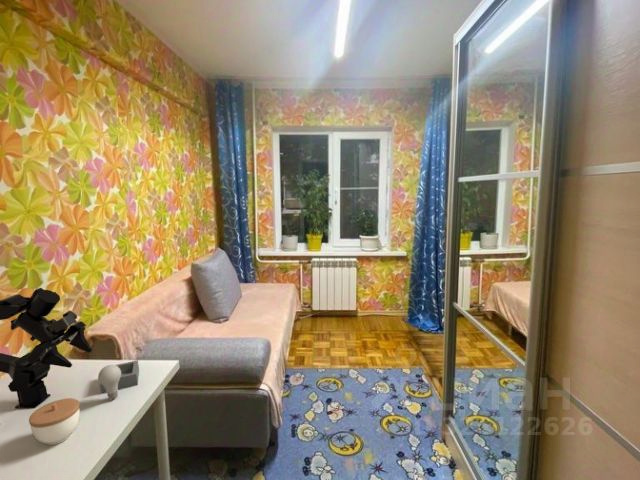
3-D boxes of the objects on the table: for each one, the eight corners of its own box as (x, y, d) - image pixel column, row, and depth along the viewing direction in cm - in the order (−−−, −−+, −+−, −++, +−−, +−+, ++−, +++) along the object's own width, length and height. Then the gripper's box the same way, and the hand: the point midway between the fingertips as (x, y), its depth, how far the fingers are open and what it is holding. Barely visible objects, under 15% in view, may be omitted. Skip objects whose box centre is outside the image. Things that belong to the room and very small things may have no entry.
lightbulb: (114, 405, 108) (109, 371, 106) (97, 404, 109) (91, 370, 108) (129, 393, 114) (124, 361, 112) (112, 392, 115) (107, 360, 114)
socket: (101, 393, 115) (99, 382, 114) (105, 378, 124) (104, 367, 124) (137, 385, 119) (136, 373, 118) (139, 370, 128) (137, 360, 128)
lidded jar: (40, 430, 98) (34, 399, 97) (86, 418, 103) (81, 388, 101) (28, 457, 89) (21, 422, 87) (79, 442, 93) (73, 409, 91)
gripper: (28, 319, 98) (76, 354, 99) (74, 297, 116) (114, 327, 118) (6, 348, 99) (53, 382, 101) (55, 322, 117) (94, 351, 119)
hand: (81, 358), depth 110 cm, fingers open, 9 cm apart
